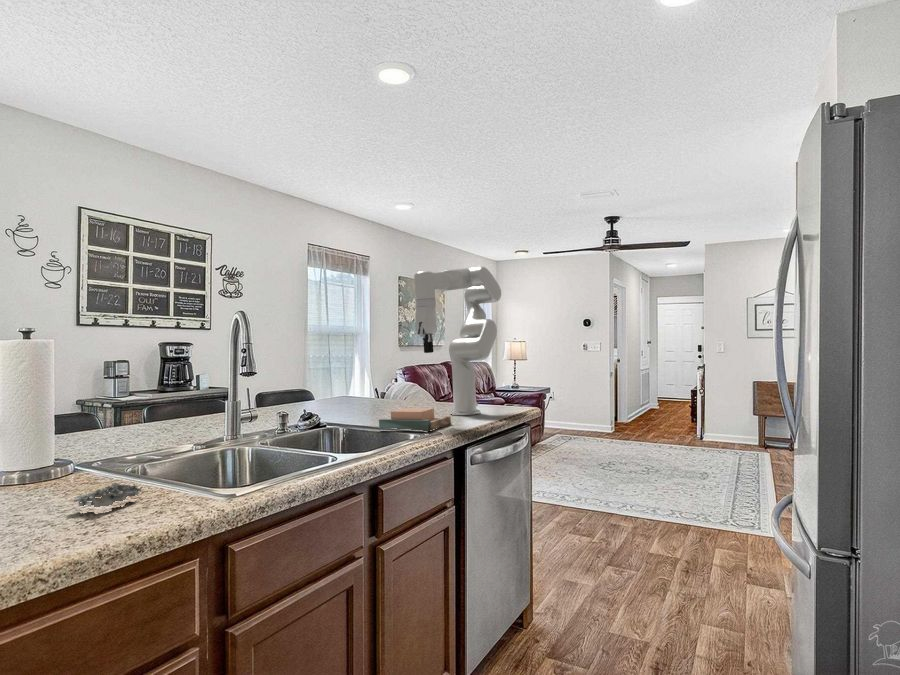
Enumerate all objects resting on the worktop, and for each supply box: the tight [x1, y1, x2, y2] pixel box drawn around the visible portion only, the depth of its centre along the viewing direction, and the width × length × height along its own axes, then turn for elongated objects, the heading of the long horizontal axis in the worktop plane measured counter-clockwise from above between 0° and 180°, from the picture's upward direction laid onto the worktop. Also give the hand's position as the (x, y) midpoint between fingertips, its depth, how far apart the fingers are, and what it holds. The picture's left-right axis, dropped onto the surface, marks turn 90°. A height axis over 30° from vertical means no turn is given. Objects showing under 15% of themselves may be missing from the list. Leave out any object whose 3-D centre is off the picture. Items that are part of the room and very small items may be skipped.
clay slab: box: [390, 407, 435, 421], centre depth 193 cm, size 10×12×4 cm
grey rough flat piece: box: [73, 482, 144, 507], centre depth 107 cm, size 11×8×4 cm
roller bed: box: [378, 415, 452, 431], centre depth 195 cm, size 19×19×4 cm
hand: (428, 352), depth 206 cm, fingers closed
